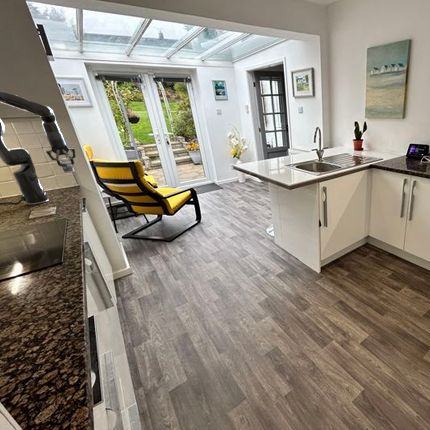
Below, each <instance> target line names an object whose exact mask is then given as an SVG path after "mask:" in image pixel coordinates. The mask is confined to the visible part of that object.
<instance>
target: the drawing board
mask: <svg viewBox="0 0 430 430" xmlns="http://www.w3.org/2000/svg"><path fill="white" fill-rule="evenodd" d="M56 213H57V206H51V207H46V208H40V209H34V210H31V212H30V215H29V216H28V220H30V221H31V220H34V219H40V218H44V217H50V216H54V215H55V216H56Z"/></svg>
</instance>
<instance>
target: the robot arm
mask: <svg viewBox="0 0 430 430" xmlns="http://www.w3.org/2000/svg"><path fill="white" fill-rule="evenodd" d="M0 103H1V104H4V105H7V106H10V107H13V108H16V109H18V110H21V111H25V112H29V113H31V114H33V115H36V116H39V118H40V120H41V122H42V123H41V126H42V128H43V131H44V132H45V133H44V134H45V136H46V139H47V141H48V143H49V145H50V148H51V149H50V150H46V151H45V153H46V154H47V155H48V157H49V158H50V159H51V160H52V161H55V162H56V163H57V166H59V167H62V165H61V160H59V159H60V156H67V158H68V159H69V161H70V162H71V163H72V165H75V161H74V159H75V158H76V151H75V150H76V149H75V148H74V147H72V148H70V147H68V145H67V143H66V139H65V138H64V136H63V133H62V132H61V129H60V127H59V125H58V123H57V119H56V115H55V113H54V110H53V109H52V108H51V107H50V106H48V105H44V104H41V103H38V102H36V101H32V100H30V99H28V98H25V97H23V96H20V95H17V94H14V93H12V92H8V91H4V90H0ZM5 127H6V126H5V124H4V122H3V120H2V119H1V118H0V160H1V161H2V162H3V163H4V164H5V165H6V166H9V167H14V166H20V167H19V168H17V170H15V171H13V172H12V174H13V177H14V179H15V181H16V183H17V185H18V187H19V190H20V192H21V194H22V195H21V196H20V199H19V200H18V201H17V202H12V201H11V202H10V201H7V202H5V201H4V202H0V205H6V204H9V205H18V204H21V203H22V202H26V204H27V205H28V206H34V205H41V204H45V203H48V202H49V201H50V199H49V198H48V196H47V192H46V191H45V189H44V187H43V185H42V183H41V181H40V179H39V176H38V174H37V172H36V171H37V170H36V167H35V165H34V162H33V159H32V157H31V154H30V153H29V151H28V150H26V148H23V147H14V148H8V147H7V146H6V144H5V142H4V135H5V129H6V128H5ZM69 151H70V152H72V155H70V153H69ZM52 153H54V154H55V157H54V156H53V155H52Z"/></svg>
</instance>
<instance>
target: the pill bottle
mask: <svg viewBox="0 0 430 430" xmlns="http://www.w3.org/2000/svg"><path fill="white" fill-rule="evenodd" d="M59 159H60V163H61V165H62V166H61V168H62V170H63V172H64V173H73V172H75V171H76V170H75V168H74V166H73V165H72V163H71V160H70V158H69V157H64V158H59Z"/></svg>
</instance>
